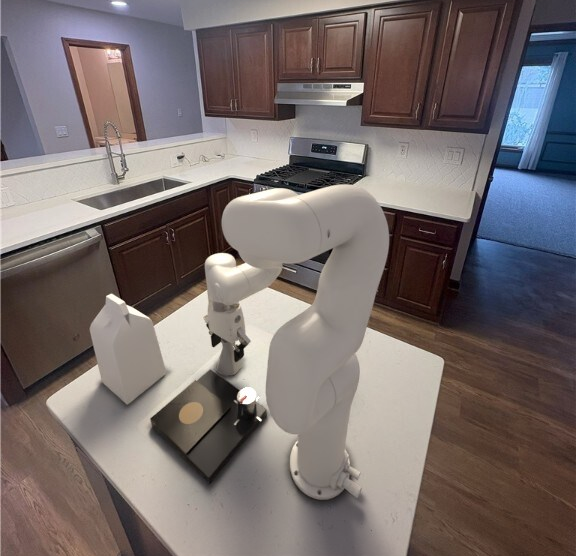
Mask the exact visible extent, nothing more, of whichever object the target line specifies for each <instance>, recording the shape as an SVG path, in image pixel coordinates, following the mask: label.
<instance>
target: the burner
mask: <svg viewBox="0 0 576 556" xmlns="http://www.w3.org/2000/svg"><path fill="white" fill-rule="evenodd" d="M230 409H231V407H230V406H229V405H227V404H226V403H225V402H223V401H222V400H221V399H219V398H218V397H217V396H216V395H214V394H213V393H212V392H210V391H209V390H208V389H206V388H205V387H204V386H203V385H201V384H200V383H199V382H197V379H196V380H195V379H194V380H193V381H192V382H191V383H190V384H189V385H188V386H187V387H185V388H184V389H183V390H182V391H180V392H179V393H178V394H177V395H176V396H175V397H174V398H172V399H171V400H170V401H169V402H168V403H166V404H165V405H164V406H163V407H162V408H160V410H158V411H157V412H156V413H155V414H154V415H152V416H151V417H150V418H149V419H150V422H151V421H152V422H153V423H154V424H155V425H156V426H157V427H158V428H159V429H160V430H161V431H162V432H163V433H164V434H165V435H166V436H167V437H168V438H169V439H170V440H171V441H172V442H173V443H174V444H175V445H176V446H177V447H178V448H179V449H180V450H181V451H182V452H183V453H184V454H185V455H187V454H188V453H189V452H190V451H191V450H192V449H193V448H194V447H195V446H196V445H197V444H198V443H199V442H200V440H201V439H202V438H203V437H204V436H205V435H206V434H207V433H208V432H209V431H210V430H211V429H212V428H213V427H214V426H215V425H216V424H217V423H218V422H219V421H220V420H221V418H222V417H223V416H224V415H225V414H226V413H227V412H228V411H229V410H230Z"/></svg>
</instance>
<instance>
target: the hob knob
mask: <svg viewBox="0 0 576 556" xmlns="http://www.w3.org/2000/svg"><path fill="white" fill-rule="evenodd" d="M239 390H240V391H239V392H238V394H237V404H238V414H239V416H240V417H241V418H243V419H250V418H252V417H253V416H254V415H255V414H256V410H257V407H256V402H257V401H256V399H257V392H256V390H255V389H254V388H252V387H243V388H241V389H239Z"/></svg>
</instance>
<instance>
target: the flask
mask: <svg viewBox="0 0 576 556" xmlns="http://www.w3.org/2000/svg"><path fill="white" fill-rule="evenodd" d="M220 344H222V345H221V346H222V347H221V351H220V354H219V357H218V360H217V362H216V370H215V371H216V373H219V374H220V375H222V376H234V375H236V374H237V373H238V372H239V371H240V370H241V368H242V359H240V360H239V361H238V362H235V361H234V350H235V348H234V346H233V344H232V343H230V342H228V341H226V340H224V339H223V338H221V342H220Z"/></svg>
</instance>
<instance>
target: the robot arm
mask: <svg viewBox="0 0 576 556" xmlns="http://www.w3.org/2000/svg"><path fill="white" fill-rule="evenodd" d="M388 224H389V223H388V221H387V217H386V215H385V213H384V210H383V208H382V206H381V205H380V203H379V202H378V201H377V199H376V198H375V196H373V194H371V193H370V192H369V191H368V190H367V189H365V188H362V187H361V186H358V185H354V184H346V183H345V184H344V183H343V184H334V185H330V186H326V187H322V188H318V189H315V190H312V191H308V192H305V193H301V194H298V193H297V192H295V191H294V190H292V189H288V188H283V187H277V188H270V189H266V190H262V191H258V192H253V193H250V194H245V195H241V196H238V197H236V198H233V199H232V200H230V202H228V204H226V206H225V208H224V210H223V212H222V216H221V230H222V234H223V236H224V239H225V240H226V243H228V245H229V246H230V247H231V248H232V249H234V250H236V251H237V253H238V255H239V257H240V258H241V259H242V261H243V262H244V263H242V264H239V265H237V261H236V259H235V256H233V255H232V254H230V253H226V252H218V253H214V254H212V255H210V256H208V257H207V258H206V259H205V262H204V274H205V282H206V283H205V284H206V291H207V300H208V303H207V314H206V315H204V316H203V320H204V322H205V326H206V328H207V329H208V334H209V335H210V343H211V347H212V348H215V347H217V346H218V345H219V344H221V338H223V339H224V340H226V341H228V342H230V343H232V344H233V347H234V349H235V350H234V361H235V362H238V361H239V360H240V359H241V360H242V359H243V358H244V356H245V349H246V347H248V346H249V345H250V343H251V342H252V340H251V339H250V338H249V337H248V336H247V334H246V323H245V317H244V312H243V309H242V306H241V304H240V303H239V302H242V301H243V300H246V299H247V298H249V297H251V296H253V295H255V294H258V293H259V292H261V291H263V290H266V289H267V288H269V287H270V286H271V285H272V284H273V283H274V282H275V280H276V279H278V277H279V275H280V274H281V272H282V270H283V266H284V265H283V264H285V265H286V264H287V265H293V264H299V263H303V262H306V261H308V260H310V259H313V258H315V257H317V256H319V255H321V254H323V253H326V252H327V251H329V250H332V251H331V253H330V254H329V257H328V258H327V260H326V261H325V264H324V265H323V267H322V270H321V271H320V275H319V278H318V283H317V290H316V295H315V298H314V300H313V302H312V304H311V305H310V306H309V307H307V308H306V309H305V310H304V311H302V312H300V313H298V314H297V315H296V316H294V317H293V318H291V319H289V320H288V321H286V322H285V323H283V324H282V325H281V326H280V327H279V328H278V329H277V330H276V331H275V333H274V334H273V336H272V338H271V340H270V342H269V348H268V357H267V367H266V375H265V376H266V378H265V398H266V405H267V408H268V411H269V413H270V416H271V417H272V420H273V421H274V422H275V424H276V425H277V426H278V428H280V429H281V430H282V431H284V432H285V433H288V434H290V435H297V440H296V441H295V443H294V444H293V446H292V448H291V451H290V456H289V471H290V474H291V478H292V479H293V482H294V484H295V485H296V486H297V488H298V489H299V490H300V491H301V492H302V493H303V494H305V495H306V496H308V497H309V498H312V499H314V500H319V501H324V500H325V501H327V500H331V499H334V498H335V497H338V496H339V495H340V494H341V493H342V492H343V491H345V490H346V491H347V492H348V493H350V494H351V495H352V496H354V497H355V498H356V499H359V496H360V494H361V491H362V486H360V485H359V484H358V483H357V482H355V481H354V480H356V481H359V479H360V476H361V472H360V471H359V470H358V469H356V468H354V467H352V465H351V461H350V454H349V453H348V452H347V449H346V443H347V437H348V428H349V423H350V415H351V409H352V405H353V401H354V398H355V395H356V392H357V389H358V386H359V383H360V382H359V381H360V377H361V376H360V375H361V374H360V373H361V368H360V362H359V358H358V356H357V354H356V353H357V352H358V351H359V349H360V348H361V346H362V344H363V342H364V339H365V335H366V331H367V329H368V328H367V327H368V325H369V322H370V318H371V314H372V311H373V307H374V304H375V299H376V295H377V292H378V289H379V285H380V283H381V282H380V281H381V279H382V276H383V274H384V270H385V266H386V263H387V259H388V254H389V247H390V231H389V230H390V229H389V225H388ZM238 341H239V344H238V343H237V342H238ZM350 476H351V477H352V478H353V479H354V480H351V479H350Z"/></svg>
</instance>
